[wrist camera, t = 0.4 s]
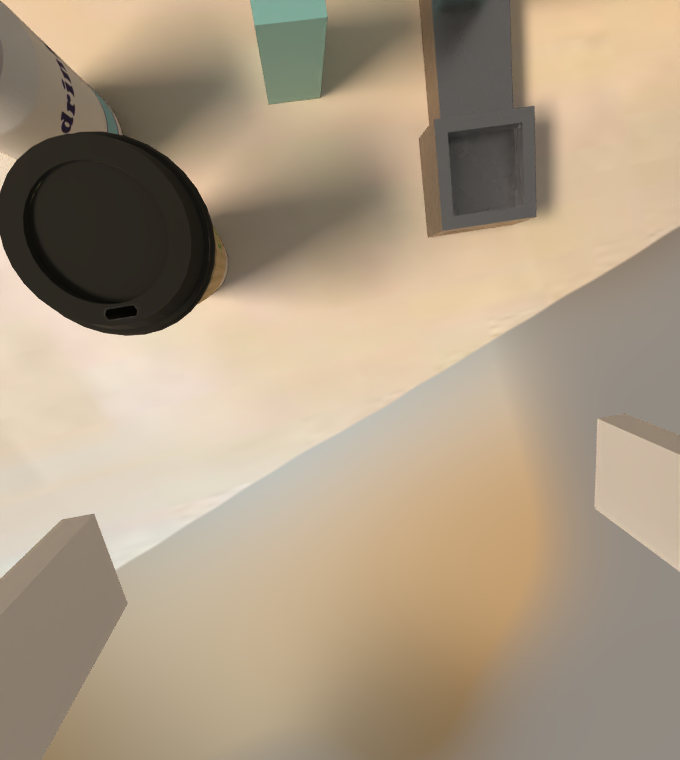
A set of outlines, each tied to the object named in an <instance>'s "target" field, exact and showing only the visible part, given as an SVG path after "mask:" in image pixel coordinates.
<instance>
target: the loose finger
mask: <svg viewBox="0 0 680 760" xmlns="http://www.w3.org/2000/svg"><path fill="white" fill-rule="evenodd" d="M250 2H251V8H252V13H253V19H254V25H255V30H256V36H257V42H258V47H259V53H260V58H261V64H262V70H263V75H264V81H265V86H266V92H267V98H268V103H269V104H276V103H284V102H292V101H300V100H308V99H316V98H320V93H321V82H322V71H323V60H324V49H325V39H326V28H327V10H326V3H325V0H250Z"/></svg>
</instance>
